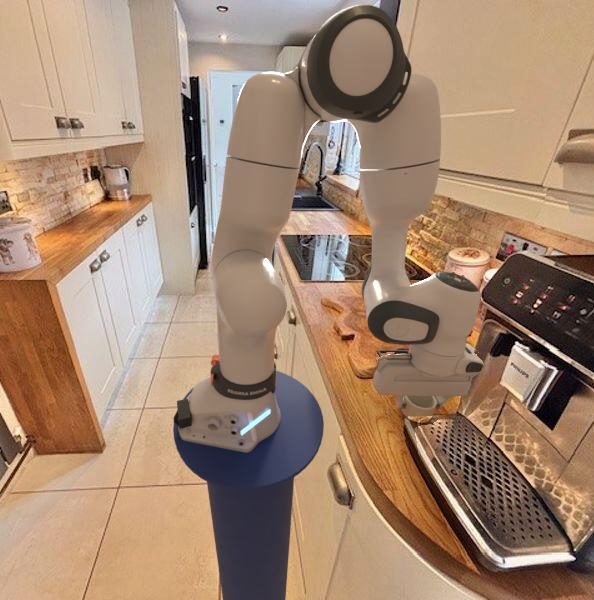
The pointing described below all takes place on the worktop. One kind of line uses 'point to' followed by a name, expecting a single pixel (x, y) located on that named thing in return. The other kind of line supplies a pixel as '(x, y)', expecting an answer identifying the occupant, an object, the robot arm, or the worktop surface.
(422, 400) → the cup
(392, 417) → the worktop surface
